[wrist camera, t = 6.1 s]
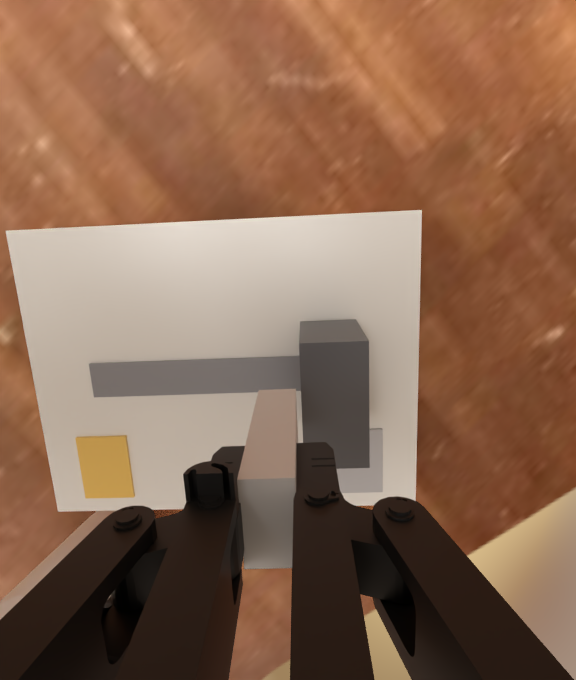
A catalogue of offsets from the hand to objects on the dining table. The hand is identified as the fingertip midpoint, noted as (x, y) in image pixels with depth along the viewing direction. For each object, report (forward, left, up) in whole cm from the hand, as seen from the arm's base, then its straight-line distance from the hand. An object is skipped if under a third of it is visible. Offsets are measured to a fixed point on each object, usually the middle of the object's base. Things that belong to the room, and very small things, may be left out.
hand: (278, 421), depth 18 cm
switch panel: (0, -4, -13) cm, 14 cm away
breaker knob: (0, +2, -7) cm, 7 cm away
